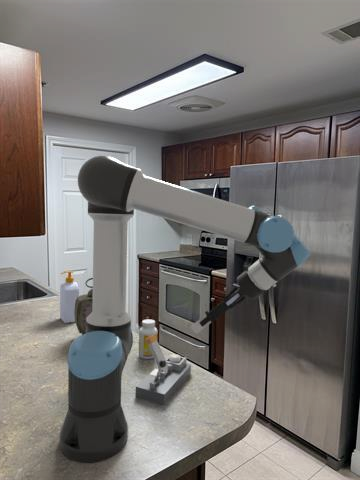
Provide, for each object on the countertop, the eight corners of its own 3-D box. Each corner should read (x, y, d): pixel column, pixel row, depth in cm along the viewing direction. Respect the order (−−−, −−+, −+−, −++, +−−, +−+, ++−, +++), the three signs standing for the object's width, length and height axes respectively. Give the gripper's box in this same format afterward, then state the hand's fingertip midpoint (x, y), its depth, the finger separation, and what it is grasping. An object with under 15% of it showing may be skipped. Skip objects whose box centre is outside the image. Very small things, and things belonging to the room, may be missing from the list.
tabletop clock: (76, 344, 131) (77, 280, 129) (73, 336, 140) (74, 276, 137) (113, 340, 137) (115, 278, 135) (108, 332, 146) (109, 274, 143)
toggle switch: (158, 384, 98) (168, 361, 96) (155, 387, 96) (165, 364, 94) (153, 380, 99) (162, 357, 97) (149, 383, 97) (159, 360, 95)
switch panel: (190, 373, 112) (191, 358, 111) (164, 404, 93) (164, 387, 93) (165, 367, 115) (166, 353, 115) (135, 396, 97) (136, 379, 96)
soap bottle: (58, 318, 161) (58, 270, 159) (73, 316, 165) (73, 269, 163) (63, 324, 154) (63, 273, 152) (78, 321, 157) (79, 272, 155)
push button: (182, 361, 111) (182, 355, 111) (177, 365, 108) (177, 359, 108) (171, 359, 113) (172, 353, 112) (167, 363, 109) (167, 357, 109)
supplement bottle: (160, 356, 124) (161, 321, 123) (147, 361, 119) (148, 325, 118) (148, 350, 128) (149, 317, 127) (134, 355, 124) (135, 320, 123)
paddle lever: (171, 370, 105) (155, 333, 107) (166, 375, 102) (149, 337, 103) (166, 371, 106) (150, 335, 107) (161, 377, 102) (144, 339, 104)
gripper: (261, 296, 85) (194, 348, 92) (269, 286, 97) (209, 333, 104) (241, 273, 86) (177, 325, 94) (251, 266, 98) (194, 313, 106)
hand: (194, 329), depth 99 cm, fingers closed
